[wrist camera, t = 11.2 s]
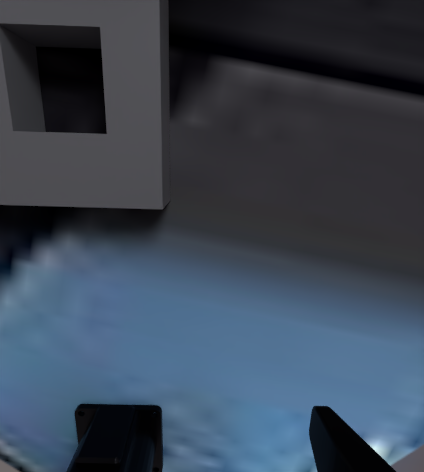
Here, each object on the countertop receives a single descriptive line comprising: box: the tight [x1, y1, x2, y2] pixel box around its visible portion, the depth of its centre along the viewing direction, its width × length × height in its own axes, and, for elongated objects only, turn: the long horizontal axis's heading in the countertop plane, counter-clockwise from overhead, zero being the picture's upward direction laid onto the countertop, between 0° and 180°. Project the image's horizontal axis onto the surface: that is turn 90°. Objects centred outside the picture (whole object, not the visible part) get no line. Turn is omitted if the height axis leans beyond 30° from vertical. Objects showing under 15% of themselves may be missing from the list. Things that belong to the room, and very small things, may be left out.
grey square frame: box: [0, 0, 170, 209], centre depth 15 cm, size 12×10×3 cm
